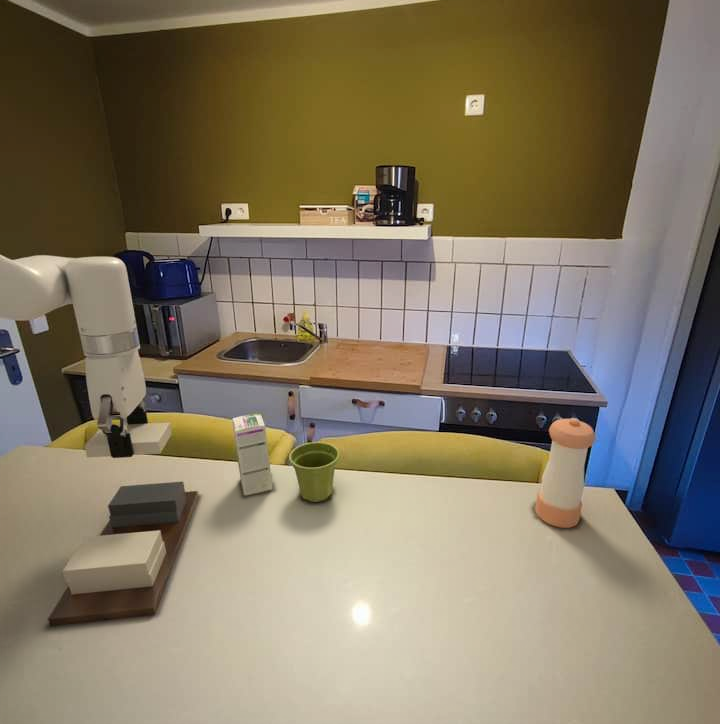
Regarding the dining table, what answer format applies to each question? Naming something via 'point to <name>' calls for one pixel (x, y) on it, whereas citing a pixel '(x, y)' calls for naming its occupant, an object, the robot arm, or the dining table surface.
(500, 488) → the dining table surface
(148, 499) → the grey stack
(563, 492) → the pepper shaker
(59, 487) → the dining table surface
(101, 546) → the white stack
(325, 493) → the plant pot
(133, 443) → the white book
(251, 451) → the syrup box
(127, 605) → the shelf board
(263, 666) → the dining table surface
